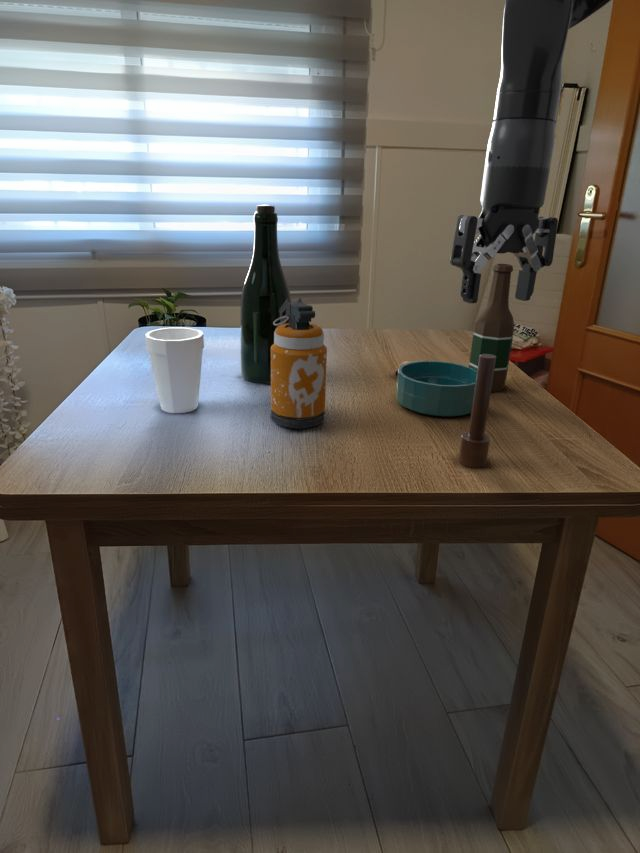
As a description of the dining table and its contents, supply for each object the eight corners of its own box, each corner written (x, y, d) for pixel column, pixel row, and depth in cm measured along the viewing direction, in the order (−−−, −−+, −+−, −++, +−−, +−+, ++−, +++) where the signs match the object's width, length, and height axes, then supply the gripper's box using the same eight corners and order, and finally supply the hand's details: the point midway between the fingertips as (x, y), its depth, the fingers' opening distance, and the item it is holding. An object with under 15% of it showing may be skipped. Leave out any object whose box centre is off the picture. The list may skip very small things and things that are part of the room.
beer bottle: (470, 391, 113) (487, 266, 104) (462, 379, 120) (478, 261, 111) (509, 393, 113) (530, 268, 103) (499, 381, 120) (518, 262, 111)
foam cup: (207, 397, 106) (204, 327, 101) (206, 415, 97) (202, 340, 92) (154, 398, 104) (148, 327, 99) (148, 417, 96) (141, 341, 91)
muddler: (490, 461, 84) (507, 355, 78) (479, 470, 81) (496, 361, 75) (465, 453, 86) (479, 350, 80) (453, 462, 83) (468, 356, 77)
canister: (280, 434, 91) (281, 308, 83) (260, 410, 100) (259, 294, 92) (332, 427, 94) (337, 305, 86) (308, 405, 103) (311, 292, 96)
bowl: (491, 402, 108) (496, 371, 105) (457, 426, 96) (462, 392, 94) (419, 385, 116) (422, 356, 114) (380, 404, 105) (382, 373, 102)
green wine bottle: (302, 376, 119) (305, 205, 106) (269, 388, 111) (268, 206, 98) (264, 366, 125) (263, 203, 112) (230, 377, 117) (224, 203, 104)
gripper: (489, 161, 63) (469, 309, 69) (586, 166, 68) (559, 304, 74) (449, 162, 69) (434, 298, 75) (540, 167, 74) (519, 294, 81)
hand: (496, 301), depth 75 cm, fingers open, 8 cm apart
